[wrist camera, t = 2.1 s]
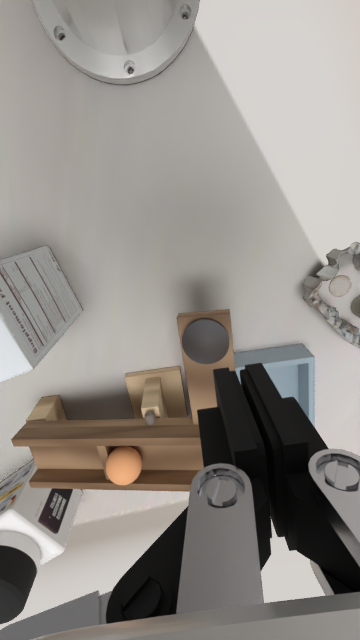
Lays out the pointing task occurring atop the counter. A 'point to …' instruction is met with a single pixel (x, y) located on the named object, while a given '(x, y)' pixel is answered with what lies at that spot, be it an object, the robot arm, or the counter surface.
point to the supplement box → (32, 309)
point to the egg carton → (336, 290)
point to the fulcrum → (157, 393)
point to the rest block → (48, 410)
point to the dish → (286, 372)
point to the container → (30, 534)
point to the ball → (123, 465)
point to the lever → (138, 425)
